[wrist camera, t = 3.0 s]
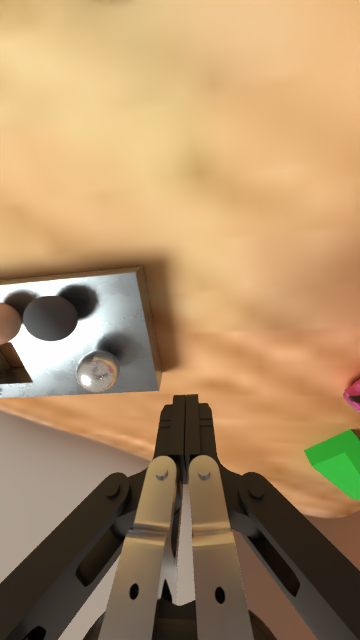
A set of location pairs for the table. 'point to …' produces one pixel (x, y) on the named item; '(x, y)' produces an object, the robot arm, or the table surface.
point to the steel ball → (97, 370)
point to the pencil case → (353, 395)
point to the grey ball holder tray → (84, 333)
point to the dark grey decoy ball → (50, 318)
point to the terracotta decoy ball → (9, 323)
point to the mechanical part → (339, 462)
